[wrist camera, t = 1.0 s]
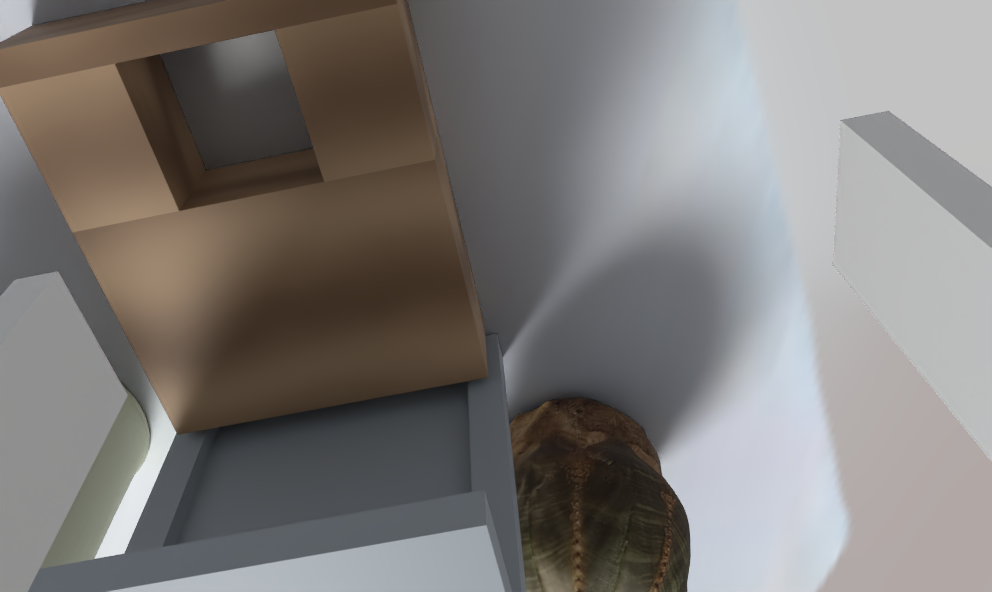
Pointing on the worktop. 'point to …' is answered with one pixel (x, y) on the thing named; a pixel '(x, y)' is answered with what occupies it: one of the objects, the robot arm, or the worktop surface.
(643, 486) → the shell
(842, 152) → the robot arm
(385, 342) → the socket block
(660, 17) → the worktop surface
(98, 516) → the can
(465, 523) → the grey open drawer
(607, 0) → the worktop surface
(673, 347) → the worktop surface
